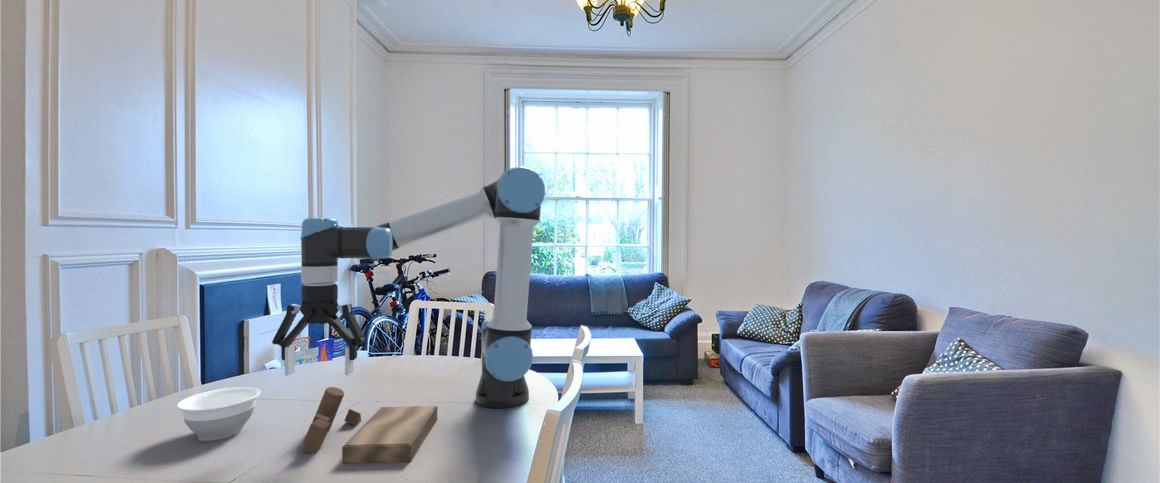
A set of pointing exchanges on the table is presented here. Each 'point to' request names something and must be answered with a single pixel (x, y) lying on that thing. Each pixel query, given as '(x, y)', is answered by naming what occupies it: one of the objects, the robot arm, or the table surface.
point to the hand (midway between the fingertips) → (319, 373)
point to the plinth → (390, 435)
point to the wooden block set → (326, 419)
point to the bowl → (219, 411)
